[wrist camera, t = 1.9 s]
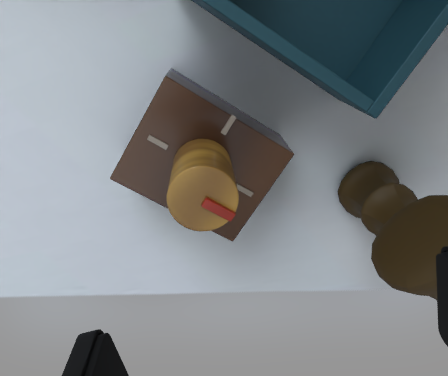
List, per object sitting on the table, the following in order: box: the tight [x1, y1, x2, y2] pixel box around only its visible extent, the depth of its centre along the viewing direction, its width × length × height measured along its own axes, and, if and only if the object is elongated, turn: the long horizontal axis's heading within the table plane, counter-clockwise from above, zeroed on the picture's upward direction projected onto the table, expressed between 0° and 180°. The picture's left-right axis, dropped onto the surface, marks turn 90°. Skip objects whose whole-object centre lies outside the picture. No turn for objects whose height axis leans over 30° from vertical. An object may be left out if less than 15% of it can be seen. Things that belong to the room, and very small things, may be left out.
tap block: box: [110, 68, 294, 241], centre depth 29 cm, size 10×8×5 cm
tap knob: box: [167, 139, 239, 231], centre depth 24 cm, size 4×4×6 cm
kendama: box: [338, 161, 448, 300], centre depth 24 cm, size 6×10×20 cm, turn 47°
